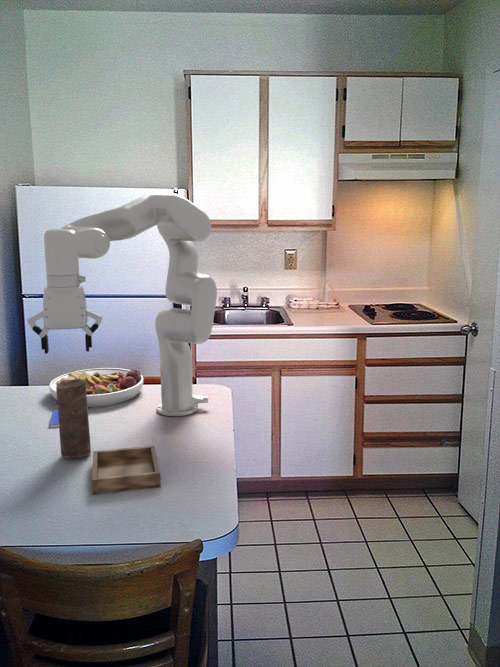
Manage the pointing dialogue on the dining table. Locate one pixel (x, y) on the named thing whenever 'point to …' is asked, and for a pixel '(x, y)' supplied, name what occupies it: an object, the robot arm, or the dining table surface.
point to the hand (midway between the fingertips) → (67, 351)
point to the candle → (73, 418)
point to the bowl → (104, 385)
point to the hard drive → (54, 419)
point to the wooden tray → (125, 470)
